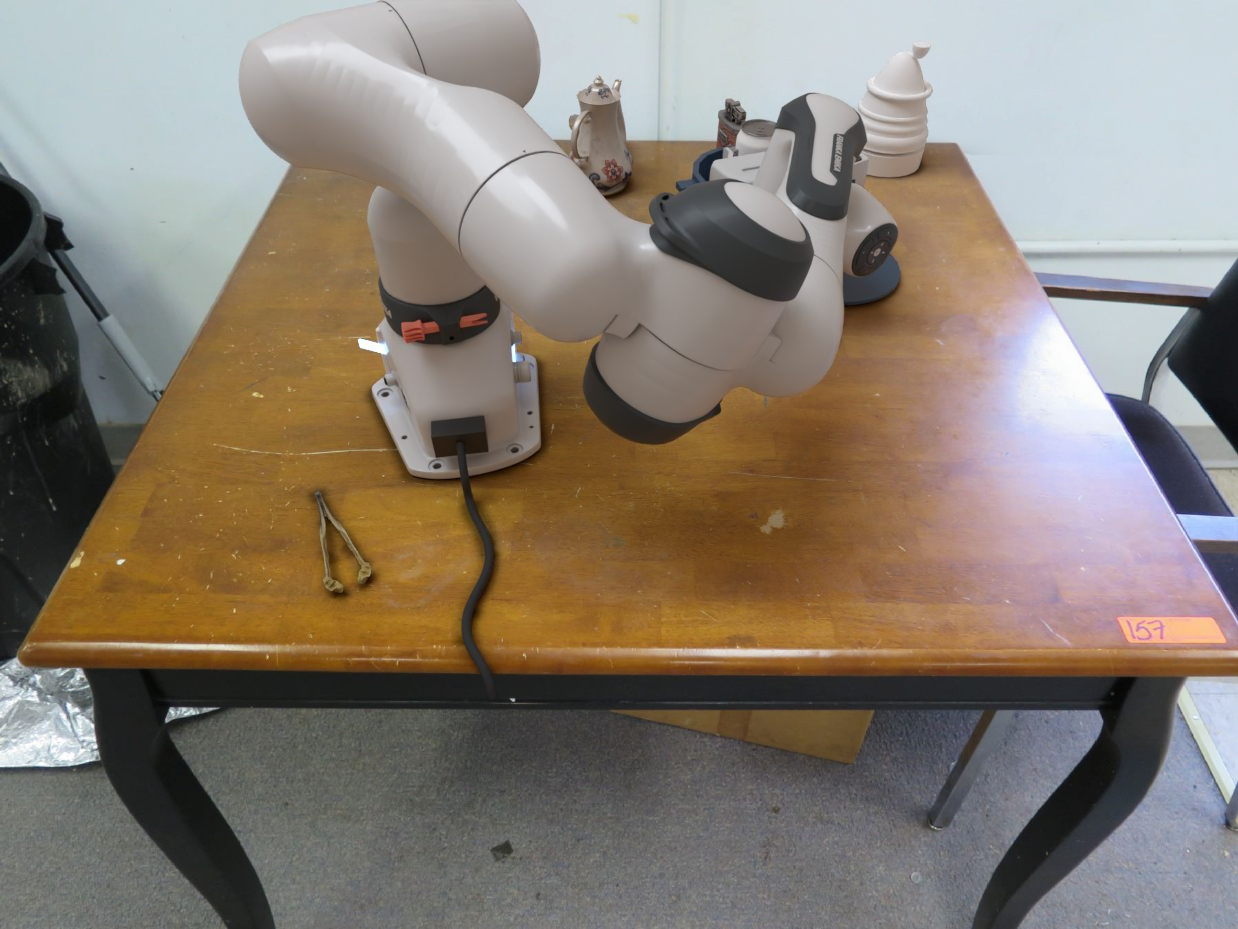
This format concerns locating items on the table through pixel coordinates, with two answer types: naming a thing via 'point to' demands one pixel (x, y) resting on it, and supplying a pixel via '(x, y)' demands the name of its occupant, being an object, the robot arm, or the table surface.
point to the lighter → (730, 123)
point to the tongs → (328, 581)
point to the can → (754, 136)
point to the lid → (871, 283)
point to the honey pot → (896, 115)
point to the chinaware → (601, 138)
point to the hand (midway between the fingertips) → (757, 146)
